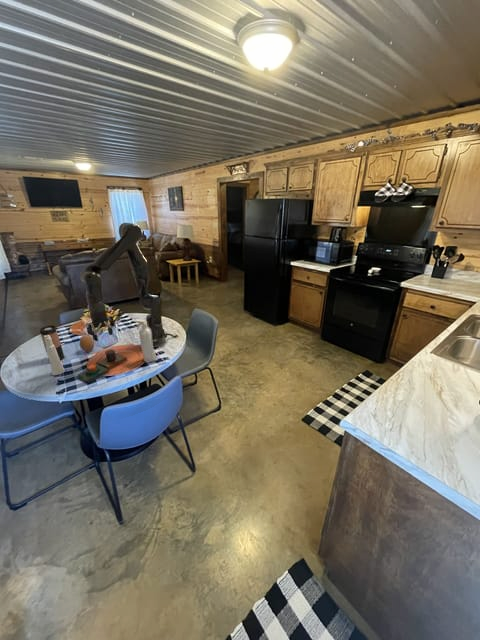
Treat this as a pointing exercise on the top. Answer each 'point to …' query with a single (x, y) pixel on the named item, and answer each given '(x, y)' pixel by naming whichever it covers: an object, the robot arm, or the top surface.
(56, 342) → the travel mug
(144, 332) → the fire extinguisher
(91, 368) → the button
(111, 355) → the knob
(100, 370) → the housing
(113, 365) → the panel
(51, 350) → the cosmetic bottle
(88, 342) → the egg
